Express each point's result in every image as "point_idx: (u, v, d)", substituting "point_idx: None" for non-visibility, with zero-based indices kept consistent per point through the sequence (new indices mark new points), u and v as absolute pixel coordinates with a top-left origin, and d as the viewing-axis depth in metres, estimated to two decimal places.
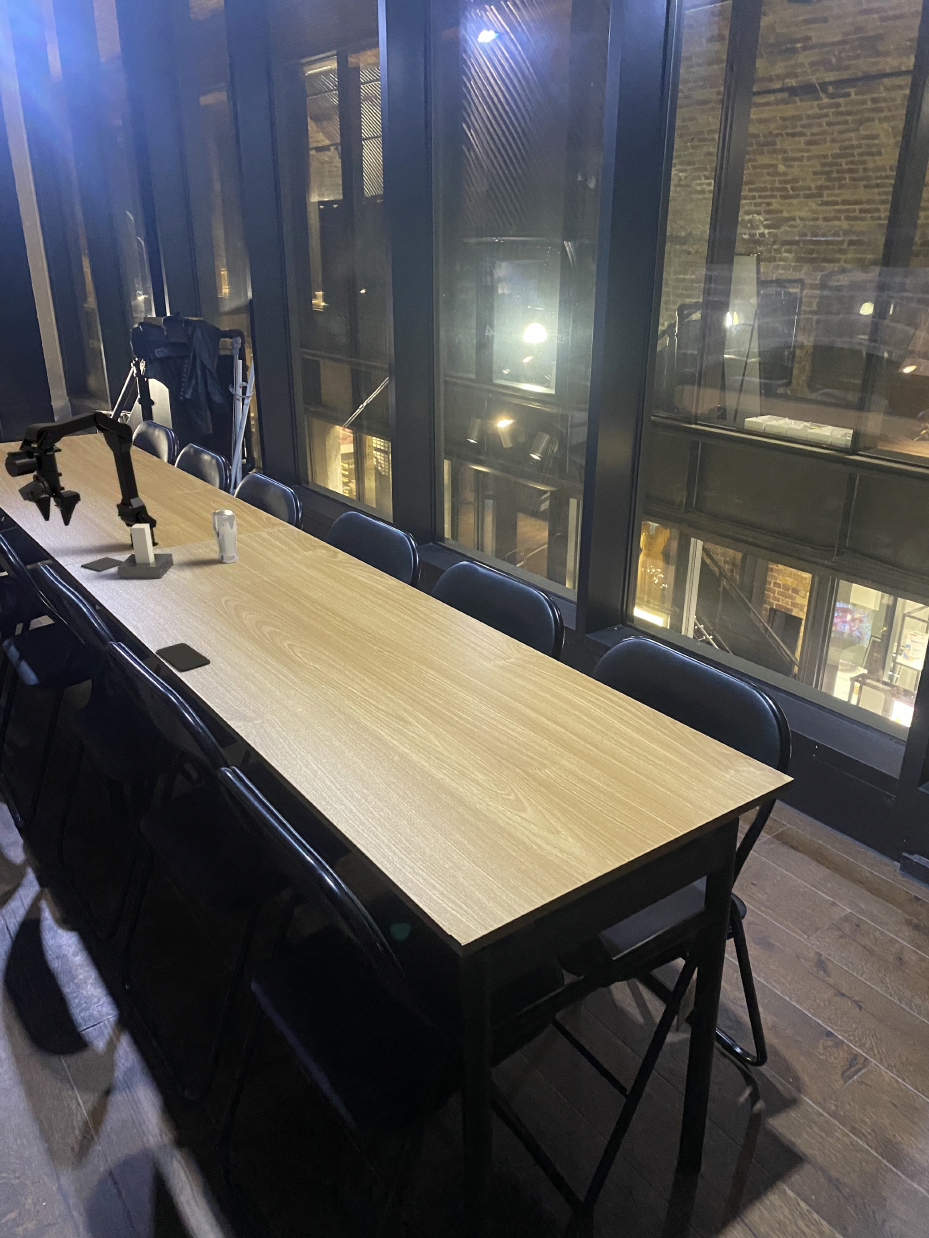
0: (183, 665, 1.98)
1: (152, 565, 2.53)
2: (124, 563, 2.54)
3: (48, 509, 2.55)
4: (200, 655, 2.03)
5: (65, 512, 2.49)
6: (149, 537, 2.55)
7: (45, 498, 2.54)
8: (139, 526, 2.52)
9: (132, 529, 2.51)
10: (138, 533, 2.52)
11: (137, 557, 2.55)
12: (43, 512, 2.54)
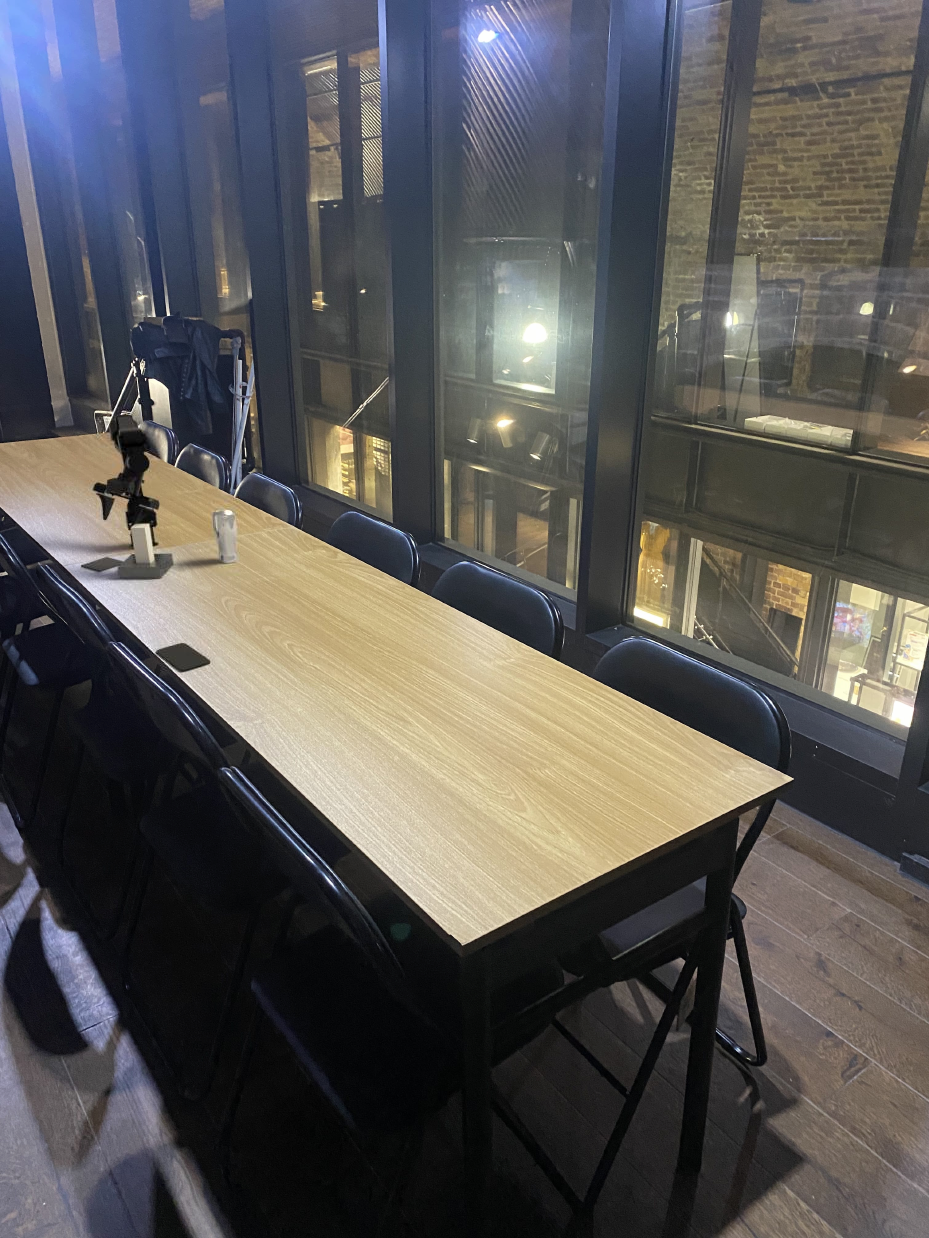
0: (183, 665, 1.98)
1: (152, 565, 2.53)
2: (124, 563, 2.54)
3: (109, 510, 2.58)
4: (200, 655, 2.03)
5: (139, 515, 2.55)
6: (149, 537, 2.55)
7: (111, 499, 2.58)
8: (139, 526, 2.52)
9: (132, 529, 2.51)
10: (138, 533, 2.52)
11: (137, 557, 2.55)
12: (106, 510, 2.56)
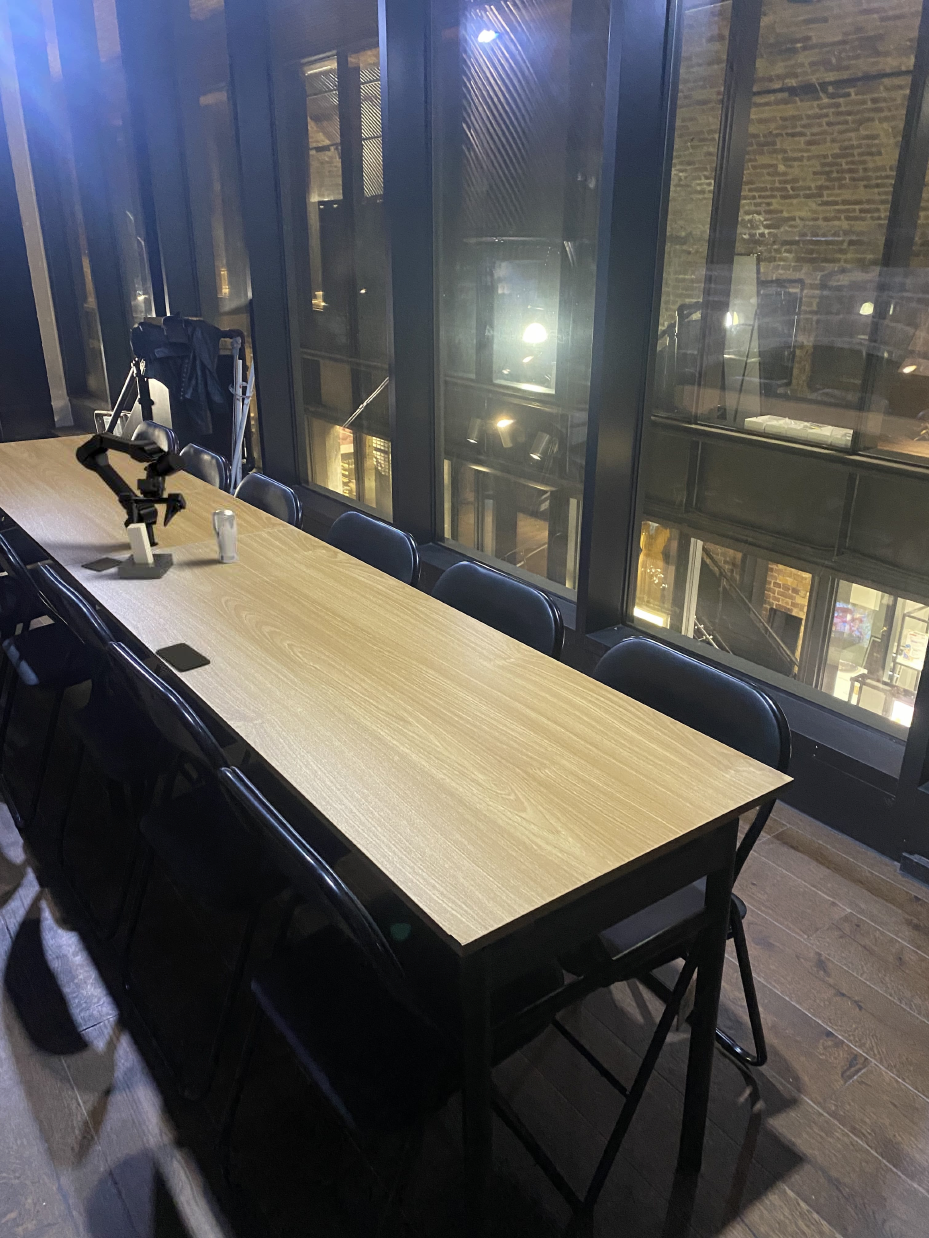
0: (183, 665, 1.98)
1: (152, 565, 2.53)
2: (124, 563, 2.54)
3: (136, 518, 2.62)
4: (200, 655, 2.03)
5: (170, 512, 2.62)
6: (146, 536, 2.55)
7: (135, 509, 2.64)
8: (135, 526, 2.52)
9: (128, 529, 2.51)
10: (134, 533, 2.52)
11: (135, 557, 2.54)
12: (134, 517, 2.61)
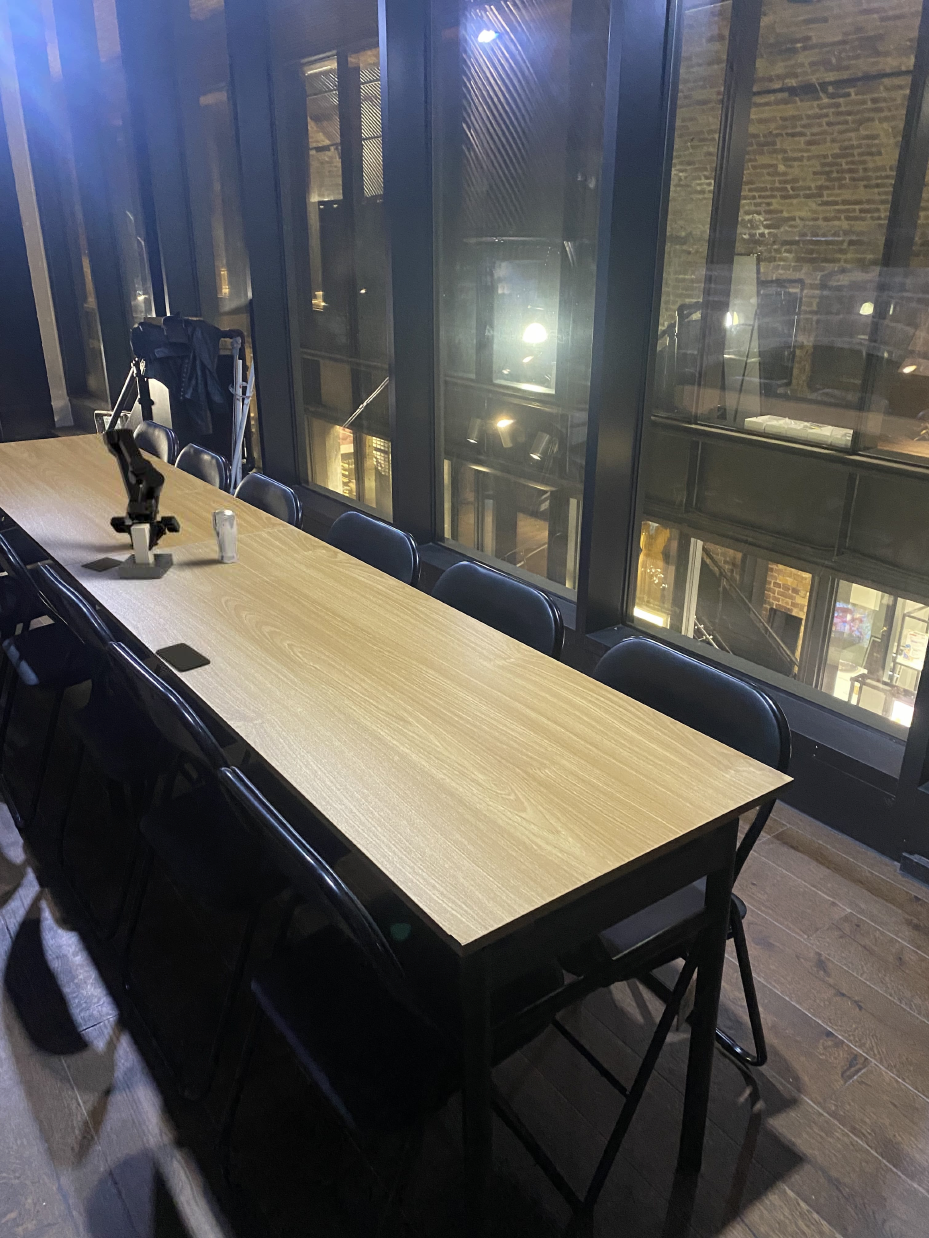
0: (183, 665, 1.98)
1: (152, 565, 2.53)
2: (124, 563, 2.54)
3: None
4: (200, 655, 2.03)
5: (154, 536, 2.56)
6: (149, 537, 2.55)
7: None
8: (139, 526, 2.52)
9: (132, 529, 2.51)
10: (138, 533, 2.52)
11: (137, 557, 2.55)
12: None
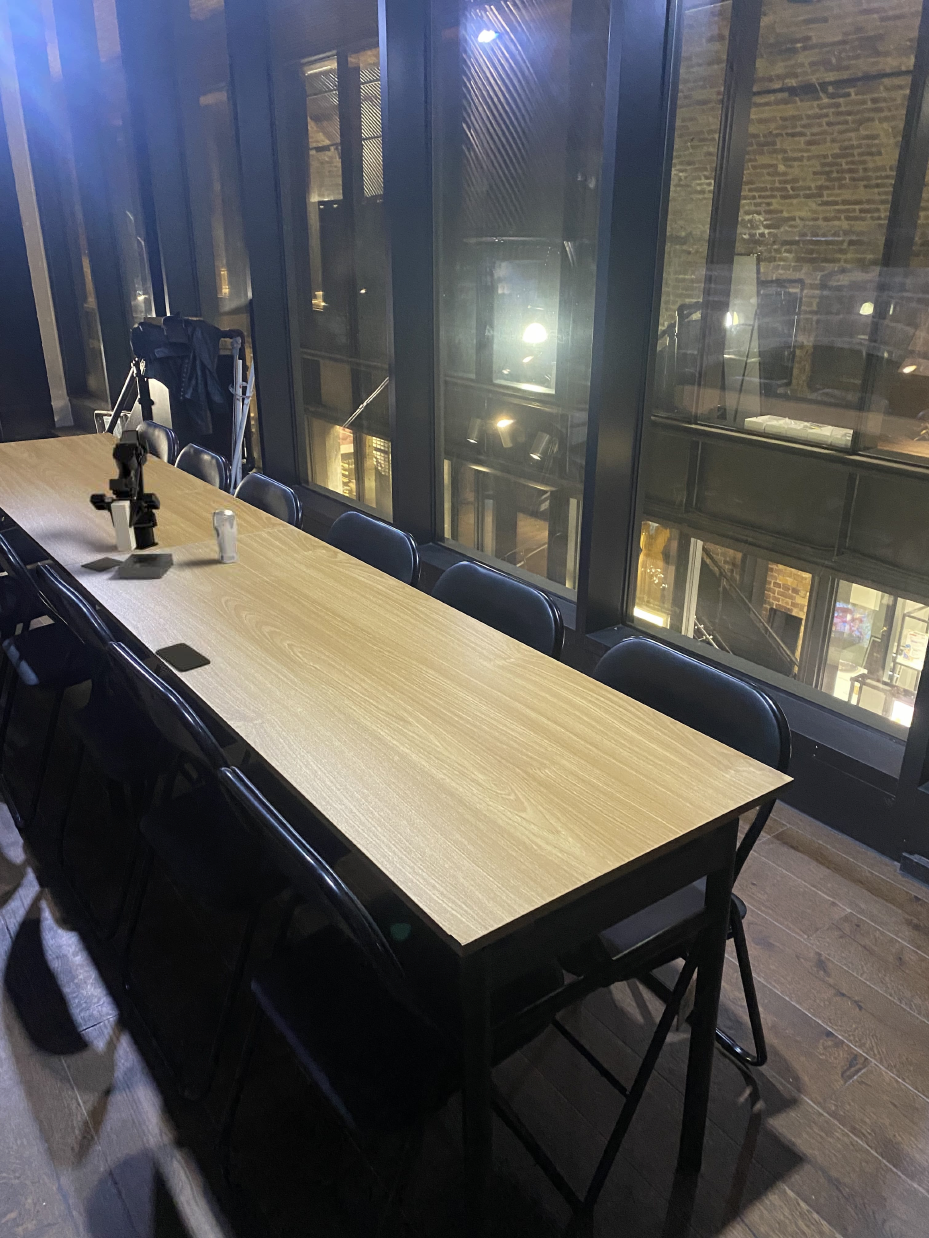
0: (183, 665, 1.98)
1: (152, 565, 2.53)
2: (124, 563, 2.54)
3: None
4: (200, 655, 2.03)
5: (135, 513, 2.56)
6: (129, 514, 2.55)
7: None
8: (119, 503, 2.52)
9: (112, 506, 2.51)
10: (118, 510, 2.52)
11: (117, 534, 2.54)
12: None
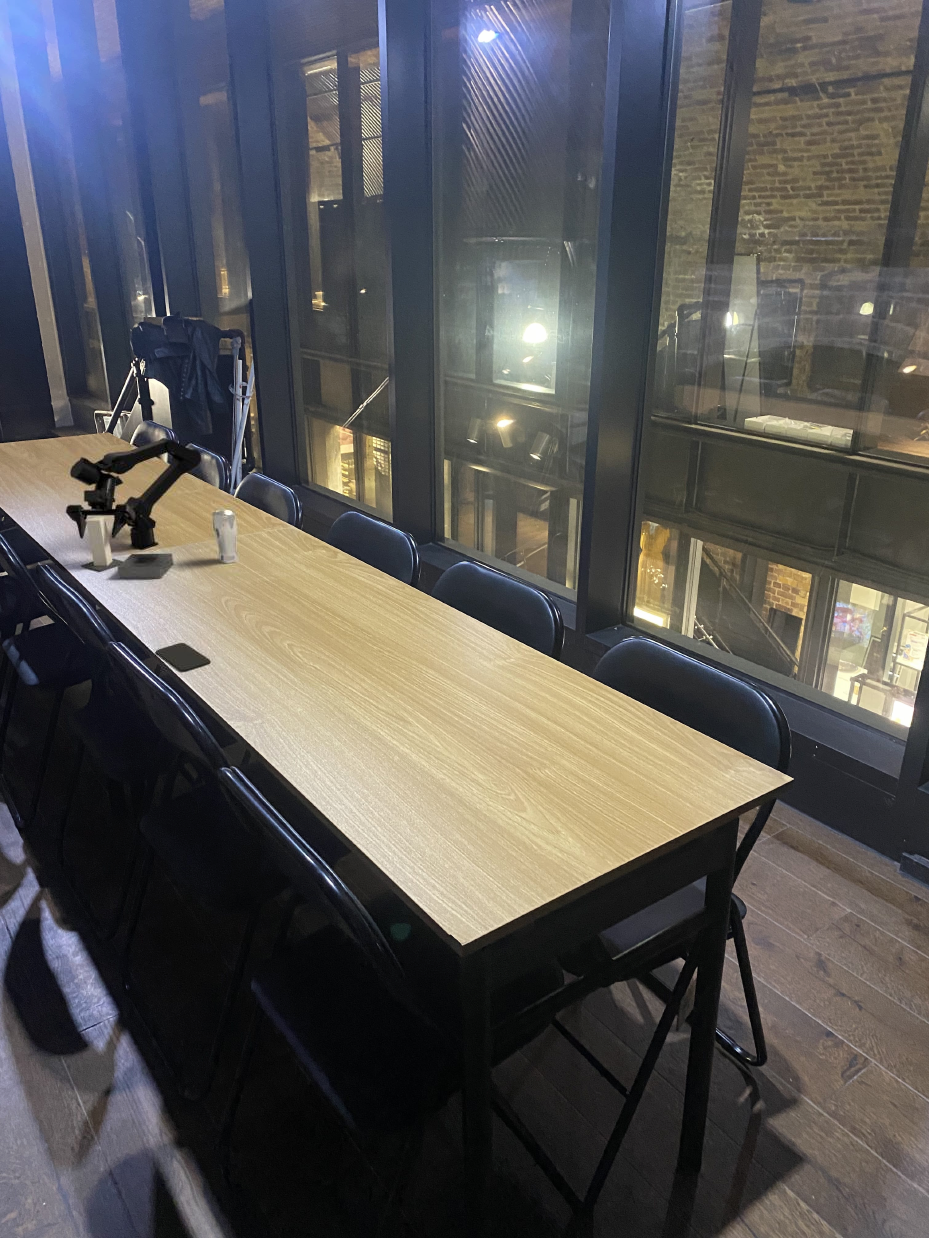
0: (184, 665, 1.98)
1: (152, 565, 2.53)
2: (124, 563, 2.54)
3: (84, 530, 2.61)
4: (200, 655, 2.03)
5: (118, 524, 2.60)
6: (105, 530, 2.60)
7: (84, 520, 2.63)
8: (95, 519, 2.58)
9: (87, 522, 2.57)
10: (93, 526, 2.57)
11: (93, 549, 2.60)
12: (81, 528, 2.60)
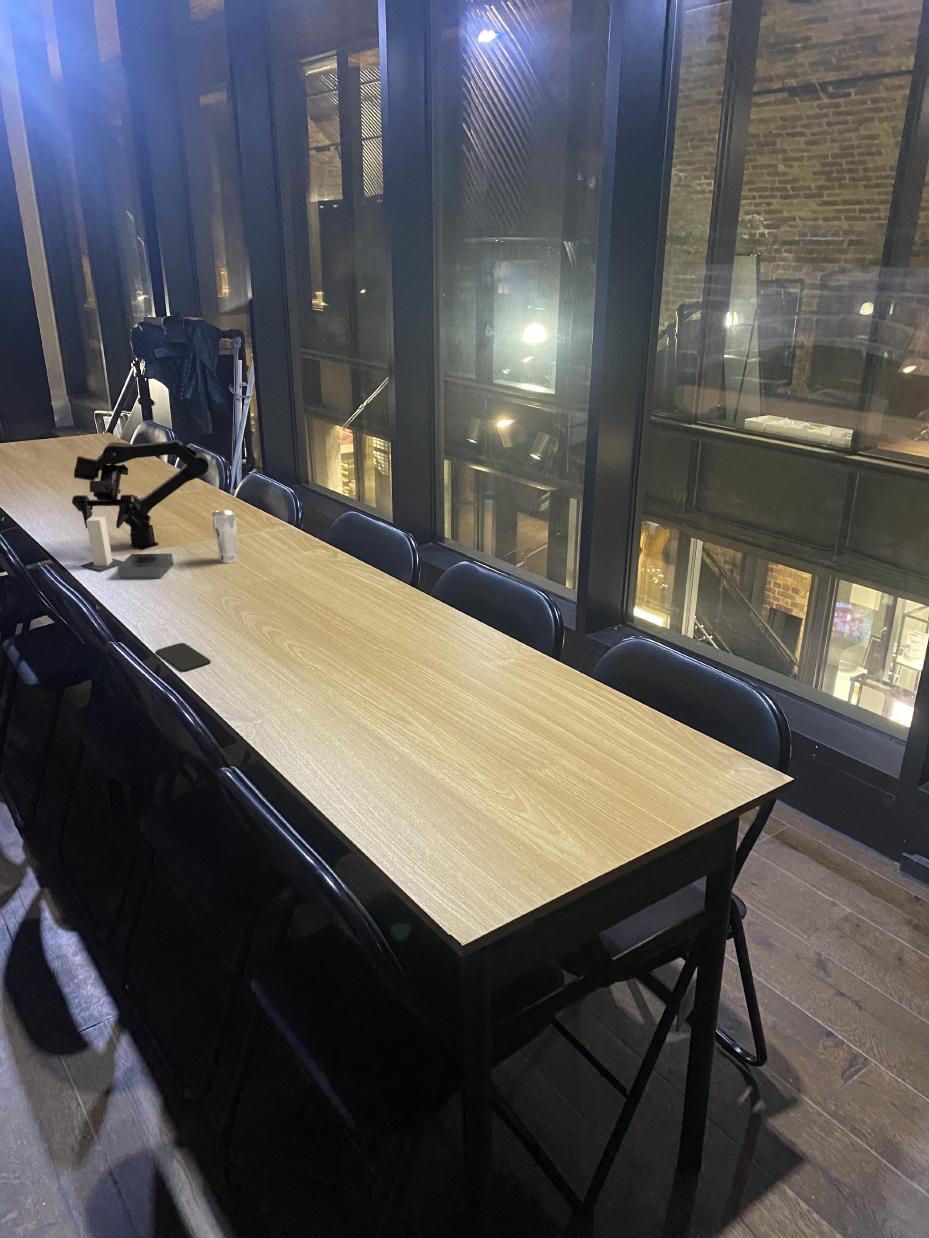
0: (184, 665, 1.98)
1: (152, 565, 2.53)
2: (124, 563, 2.54)
3: None
4: (200, 655, 2.03)
5: (123, 514, 2.65)
6: (105, 530, 2.60)
7: (90, 511, 2.67)
8: (95, 519, 2.58)
9: (87, 522, 2.57)
10: (93, 526, 2.57)
11: (93, 549, 2.60)
12: None
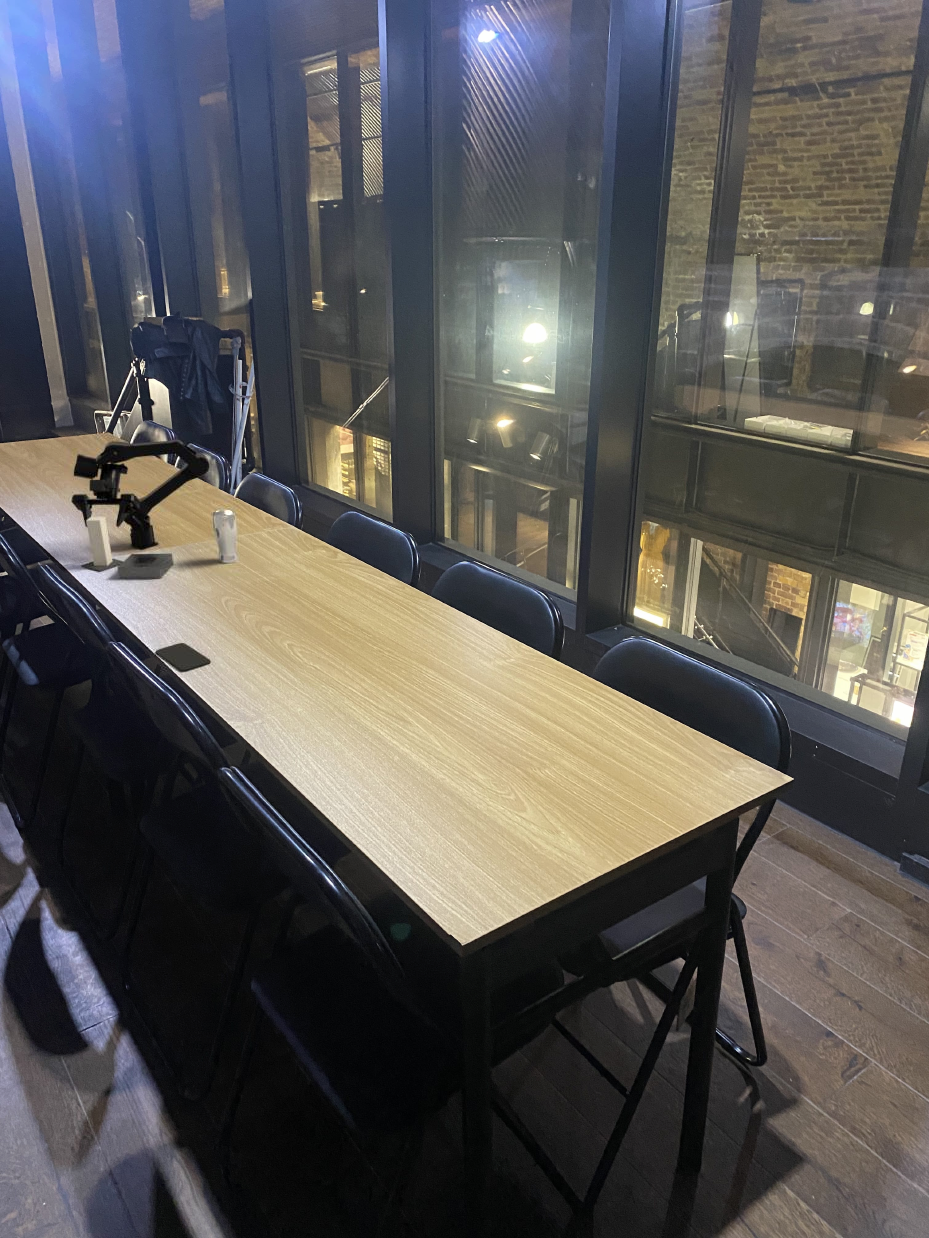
0: (184, 665, 1.98)
1: (152, 565, 2.53)
2: (124, 563, 2.54)
3: None
4: (200, 655, 2.03)
5: (122, 513, 2.64)
6: (105, 530, 2.60)
7: (89, 510, 2.67)
8: (95, 519, 2.58)
9: (87, 522, 2.57)
10: (93, 526, 2.57)
11: (93, 549, 2.60)
12: (87, 517, 2.63)
